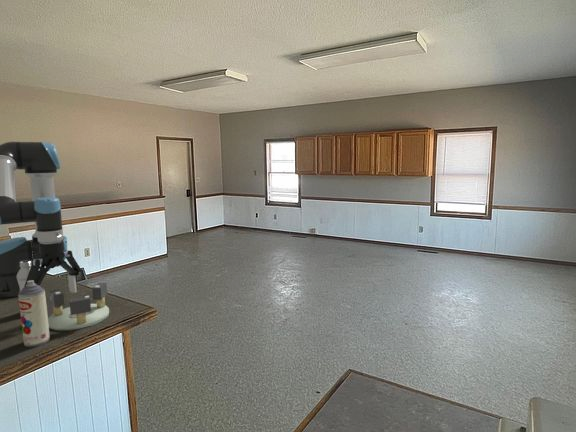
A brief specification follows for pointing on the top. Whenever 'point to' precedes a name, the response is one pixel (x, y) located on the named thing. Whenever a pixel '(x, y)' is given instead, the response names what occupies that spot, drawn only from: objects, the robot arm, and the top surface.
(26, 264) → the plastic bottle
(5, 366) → the top surface
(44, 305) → the aerosol can
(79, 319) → the knob front
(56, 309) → the dark grey rectangular block
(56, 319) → the base
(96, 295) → the grey block on peg
